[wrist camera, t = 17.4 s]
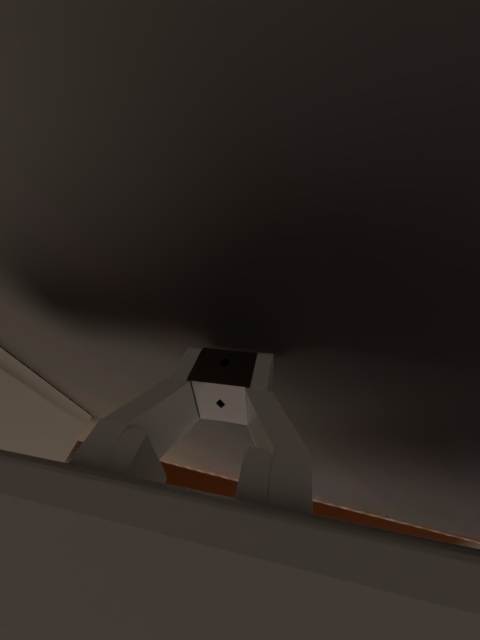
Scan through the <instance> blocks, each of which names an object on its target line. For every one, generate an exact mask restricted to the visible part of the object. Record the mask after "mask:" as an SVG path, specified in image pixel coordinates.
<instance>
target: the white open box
mask: <svg viewBox="0 0 480 640" xmlns="http://www.w3.org/2000/svg"><path fill="white" fill-rule="evenodd" d="M91 417H92V416H91V415H90V414H88V413H87V412H86V411H84V410H83V409H82V408H80V407H79V406H78V405H76V404H75V403H74V402H72V401H71V400H70V399H68V398H67V397H66V396H64V395H63V394H62V393H60V392H59V391H58V390H56V389H55V388H54V387H52V386H51V385H50V384H49V383H47V382H46V381H45V380H43V379H42V378H41V377H39V376H38V375H37V374H35V373H34V372H33V371H31V370H30V369H29V368H27V367H26V366H25V365H23V364H22V363H21V362H19V361H18V360H17V359H15V358H14V357H13V356H11V355H10V354H9V353H7V352H6V351H5V350H3V349H2V348H1V347H0V449H2V450H6V451H11V452H16V453H21V454H26V455H30V456H35V457H40V458H45V459H50V460H54V461H59V462H65V460H66V458H67V457H68V455H69V454H70V452H71V450H72V448H73V447H74V445H75V444H76V442H77V440H78V439H79V437H80V435H81V434H82V432H83V431H84V429H85V427H86V426H87V424H88V422H89V421H90V419H91Z"/></svg>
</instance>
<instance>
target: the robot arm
mask: <svg viewBox="0 0 480 640" xmlns="http://www.w3.org/2000/svg"><path fill="white" fill-rule="evenodd" d="M273 363H274V356H273V353H260V352H259V353H257V352H245V351H232V350H222V349H214V348H205V347H204V348H202V347H193V346H191V347H189V348H188V349H187V351H186V353H185V354H184V356H183V358H182V360H181V361H180V363H179V365H178V367H177V368H176V370H175V372H174V373H173V375H172V377H171V379H165V380H163V381H162V382H160V383H159V384H157V385H155V386H154V387H152V388H151V389H149V390H147V391H146V392H144V393H143V394H141V395H139V396H138V397H136V398H135V399H133V400H131V401H130V402H128V403H127V404H125V405H124V406H122V407H120V408H119V409H117V410H116V411H114V412H112V413H111V414H109V415H108V416H106V417H104V418H103V419H101V420H100V421H99V422H98V423H97V425H96V426H95V427H94V429H93V430H92V431H91V433H90V434H89V435H88V437H87V438H86V440H85V441H84V442H83V444H82V445H81V447H80V448H79V449H78V450H77V452H76V453H75V454H74V456H73V457H72V459H71V460H70V461H69V462H68V463H64V462H59V461H54V460H50V459H45V458H40V457H35V456H30V455H26V454H21V453H16V452H11V451H6V450H2V449H0V640H480V549H475V548H470V547H466V546H461V545H456V544H452V543H447V542H442V541H437V540H432V539H428V538H422V537H418V536H413V535H409V534H404V533H399V532H394V531H389V530H384V529H380V528H375V527H370V526H365V525H360V524H356V523H351V522H346V521H342V520H337V519H332V518H327V517H322V516H318V515H313V514H312V473H311V455H310V453H309V451H308V450H307V448H306V446H305V445H304V443H303V441H302V440H301V438H300V436H299V435H298V433H297V431H296V430H295V428H294V426H293V425H292V423H291V421H290V420H289V418H288V416H287V415H286V413H285V411H284V410H283V408H282V406H281V405H280V403H279V401H278V400H277V398H276V396H275V395H274V393H273ZM199 418H201V419H210V420H218V421H226V422H231V423H237V424H243V425H248V429H249V431H250V434H251V437H252V439H253V442H254V445H255V447H256V448H255V447H250V448H248V449H247V450H246V451H245V453H244V458H243V463H242V468H241V472H240V477H239V482H238V487H237V492H236V497H235V498H231V497H226V496H222V495H217V494H213V493H208V492H203V491H198V490H193V489H189V488H183V487H179V486H174V485H169V484H165V481H166V474H165V472H164V470H163V467H162V465H161V463H160V461H159V459H160V458H161V457H162V456H163V455H164V454H165V453H166V452H167V451H168V450H169V449H170V448H171V447H172V446H173V445H174V444H175V443H176V442H177V441H178V440H179V439H180V438H181V437H182V436H183V435H184V434H185V433H186V432H187V431H189V430H190V429H191V428H192V427H193V426H194V425H195V424H196V423H197V422H198V421H199Z"/></svg>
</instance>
